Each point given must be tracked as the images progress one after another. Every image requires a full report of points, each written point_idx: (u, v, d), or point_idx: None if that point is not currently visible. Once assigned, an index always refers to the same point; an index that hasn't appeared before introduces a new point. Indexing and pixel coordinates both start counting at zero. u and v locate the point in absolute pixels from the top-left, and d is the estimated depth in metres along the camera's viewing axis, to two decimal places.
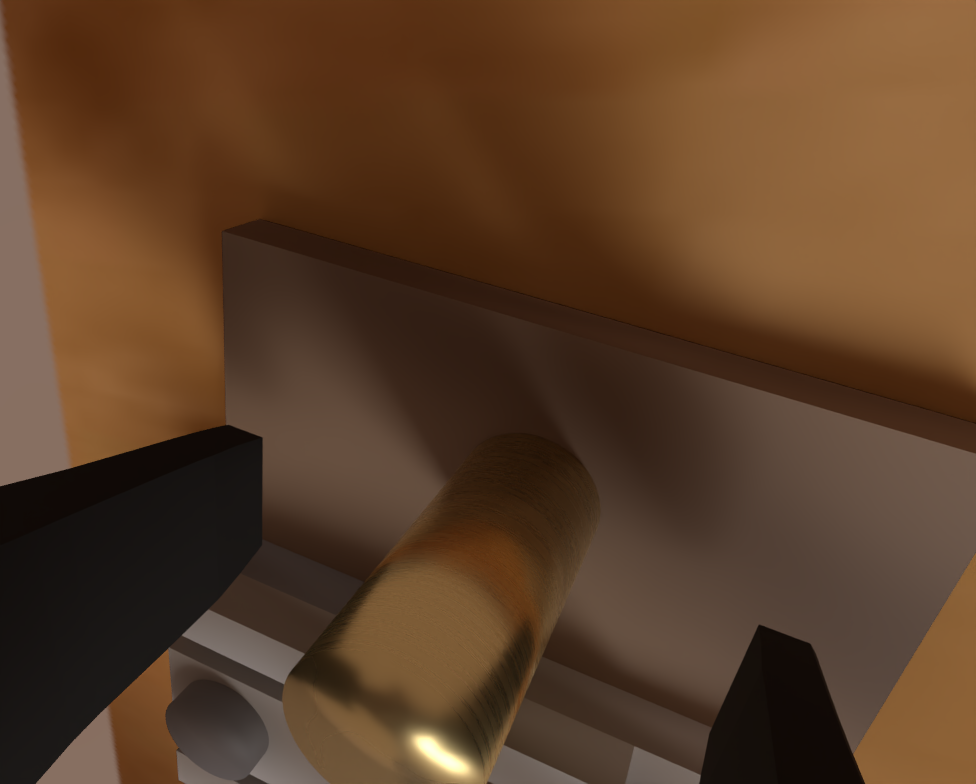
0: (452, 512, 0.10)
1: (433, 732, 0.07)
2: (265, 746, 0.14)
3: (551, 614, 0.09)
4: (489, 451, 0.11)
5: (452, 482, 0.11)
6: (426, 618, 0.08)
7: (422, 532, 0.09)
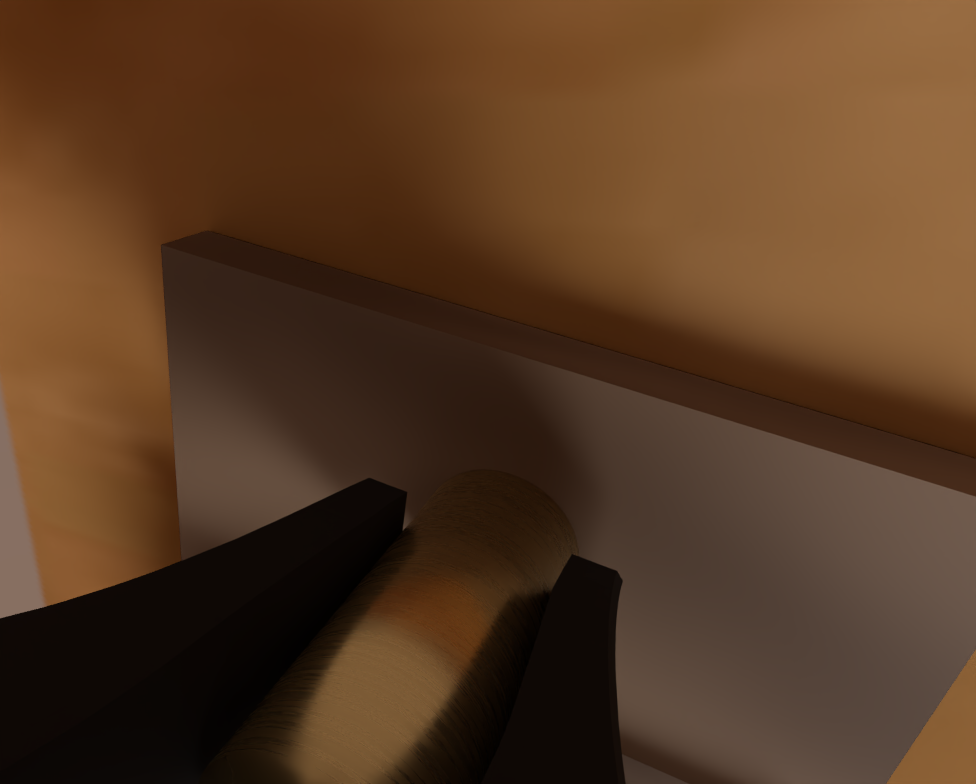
0: (405, 570, 0.08)
1: None
2: None
3: (516, 687, 0.08)
4: (453, 491, 0.10)
5: (410, 529, 0.10)
6: (363, 707, 0.07)
7: (370, 593, 0.08)
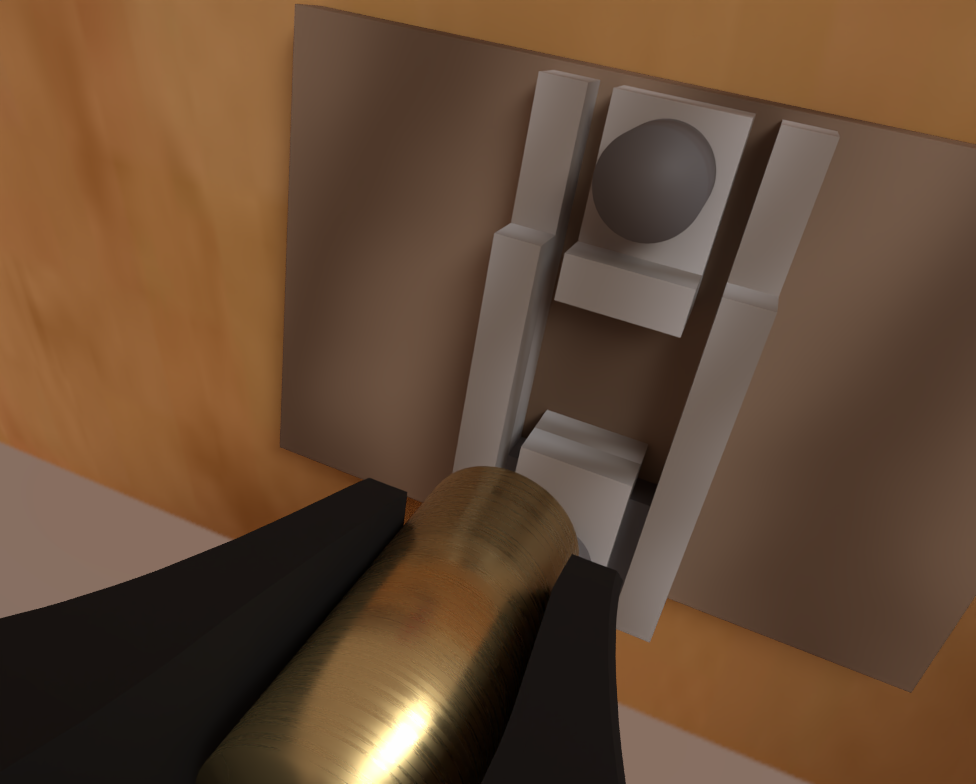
0: (401, 566, 0.08)
1: None
2: None
3: (515, 680, 0.08)
4: (449, 488, 0.10)
5: (407, 526, 0.09)
6: (357, 702, 0.07)
7: (365, 590, 0.08)
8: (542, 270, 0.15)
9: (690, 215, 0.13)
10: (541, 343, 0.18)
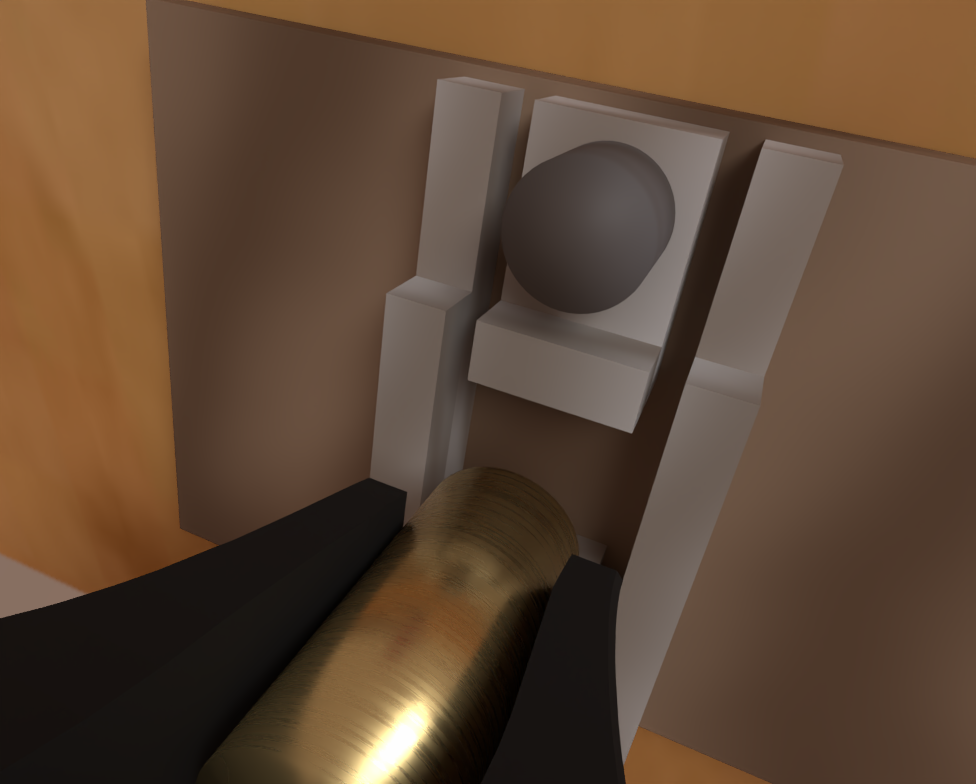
0: (401, 567, 0.08)
1: None
2: None
3: (516, 681, 0.08)
4: (450, 489, 0.10)
5: (407, 527, 0.09)
6: (357, 703, 0.07)
7: (366, 591, 0.08)
8: (455, 338, 0.12)
9: (634, 277, 0.09)
10: (470, 420, 0.14)
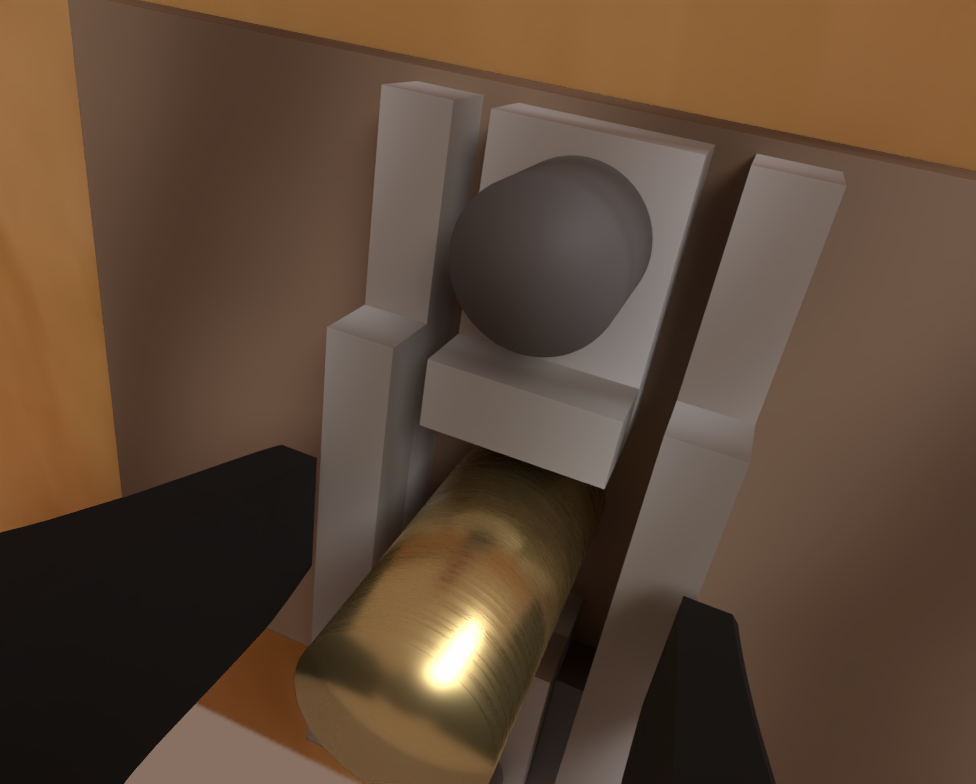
0: (456, 498, 0.10)
1: (444, 710, 0.07)
2: None
3: (558, 595, 0.09)
4: None
5: (456, 471, 0.11)
6: (434, 598, 0.08)
7: (428, 518, 0.09)
8: (407, 376, 0.10)
9: (602, 317, 0.08)
10: (432, 460, 0.13)
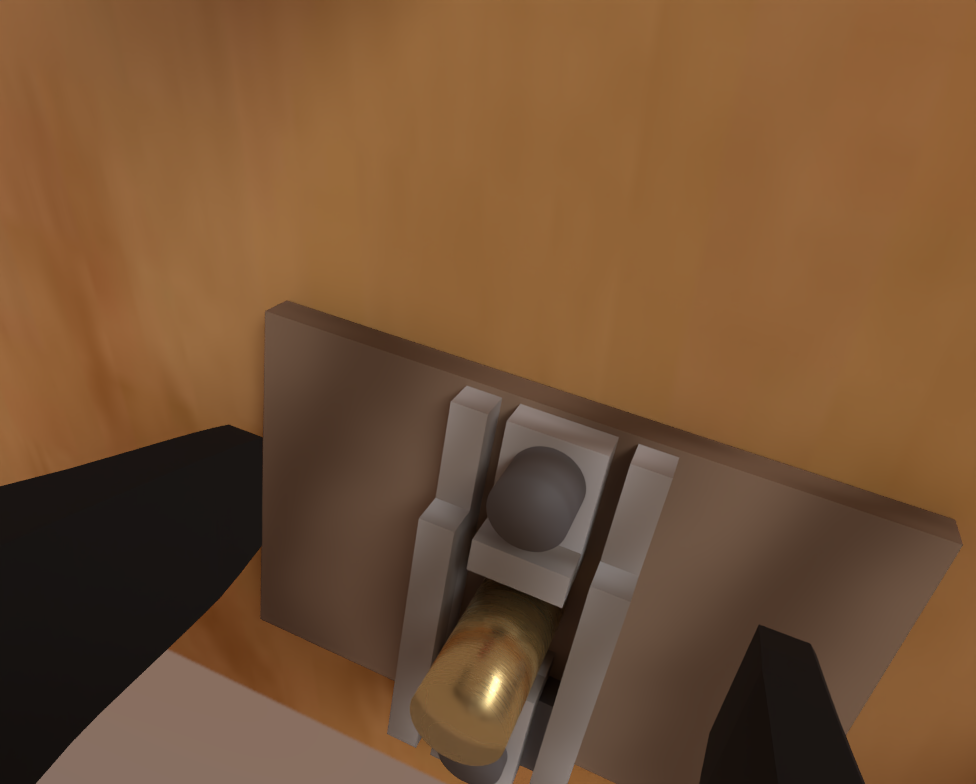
0: (486, 609, 0.19)
1: (482, 720, 0.16)
2: None
3: (537, 661, 0.18)
4: None
5: (484, 588, 0.20)
6: (477, 667, 0.17)
7: (471, 620, 0.18)
8: (459, 539, 0.19)
9: (558, 539, 0.17)
10: (467, 571, 0.21)
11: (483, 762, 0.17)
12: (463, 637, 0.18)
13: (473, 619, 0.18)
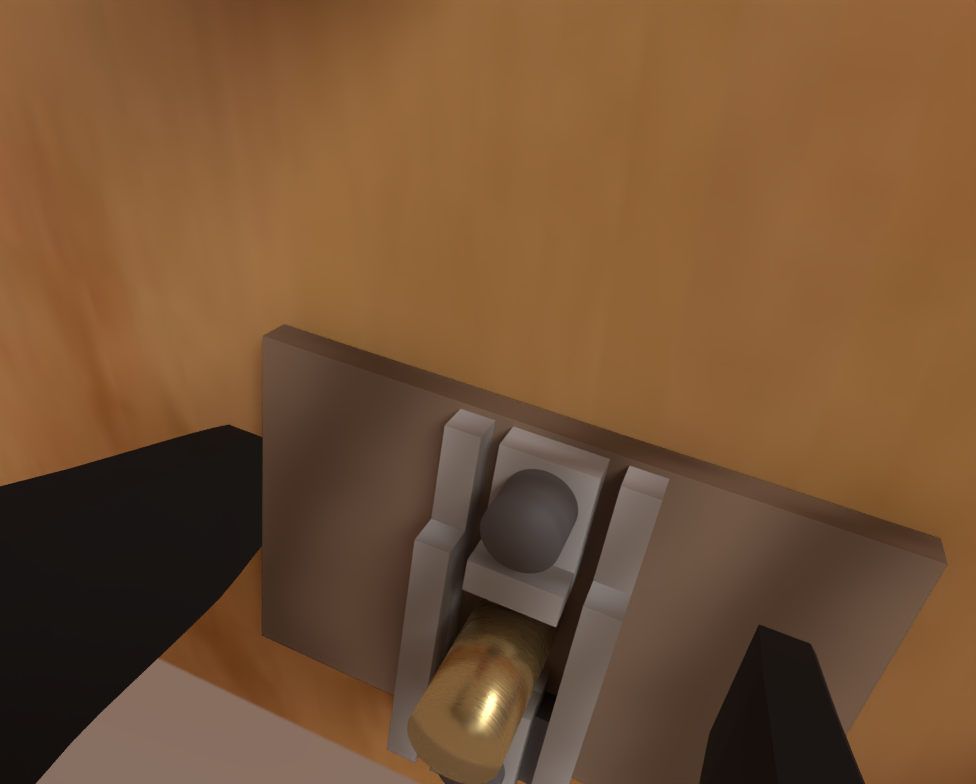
0: (481, 628, 0.19)
1: (478, 740, 0.17)
2: None
3: (533, 679, 0.19)
4: None
5: (480, 607, 0.20)
6: (473, 687, 0.17)
7: (467, 640, 0.19)
8: (454, 560, 0.20)
9: (550, 561, 0.17)
10: None
11: (479, 781, 0.17)
12: (459, 657, 0.18)
13: (469, 639, 0.19)
